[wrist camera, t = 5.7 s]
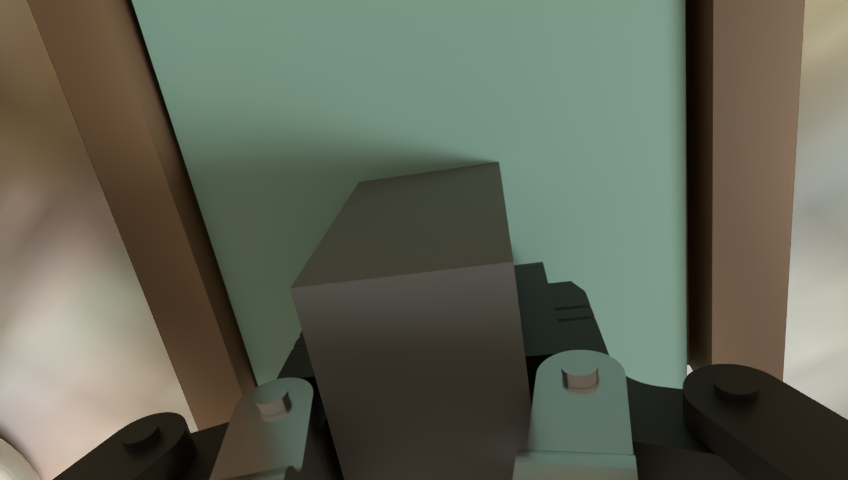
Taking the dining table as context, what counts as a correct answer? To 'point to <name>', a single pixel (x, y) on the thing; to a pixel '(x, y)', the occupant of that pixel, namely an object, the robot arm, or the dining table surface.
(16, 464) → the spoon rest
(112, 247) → the dining table surface
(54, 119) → the dining table surface
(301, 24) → the cover plate
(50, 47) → the lid box
